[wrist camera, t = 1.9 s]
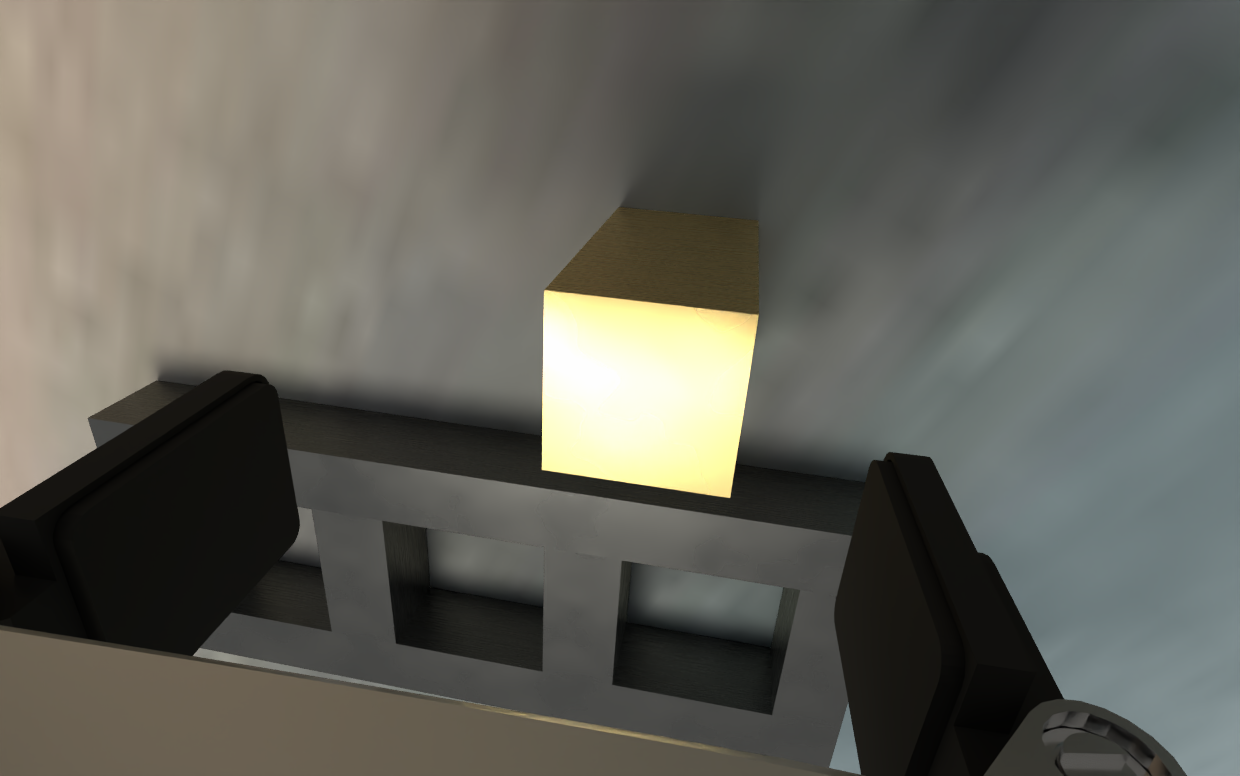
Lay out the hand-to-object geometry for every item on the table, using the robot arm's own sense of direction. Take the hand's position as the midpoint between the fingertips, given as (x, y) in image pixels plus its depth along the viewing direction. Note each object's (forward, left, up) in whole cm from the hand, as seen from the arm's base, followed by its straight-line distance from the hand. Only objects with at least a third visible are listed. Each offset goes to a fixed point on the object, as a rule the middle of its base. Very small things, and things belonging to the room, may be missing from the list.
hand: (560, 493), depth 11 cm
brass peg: (-1, 0, -11) cm, 11 cm away
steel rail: (+5, +11, -11) cm, 17 cm away
